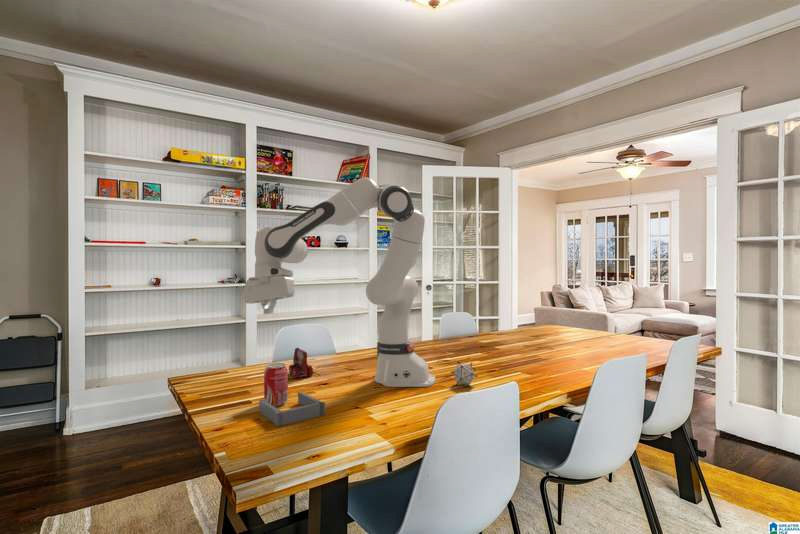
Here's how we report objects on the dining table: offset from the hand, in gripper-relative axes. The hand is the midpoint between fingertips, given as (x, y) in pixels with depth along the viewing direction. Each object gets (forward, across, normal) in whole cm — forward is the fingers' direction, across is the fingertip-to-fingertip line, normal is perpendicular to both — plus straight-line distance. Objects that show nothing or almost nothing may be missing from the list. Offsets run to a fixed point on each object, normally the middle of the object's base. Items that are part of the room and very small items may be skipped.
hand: (268, 313), depth 148 cm
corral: (+31, +17, -9) cm, 37 cm away
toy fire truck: (+22, -7, +25) cm, 34 cm away
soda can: (+29, +7, -5) cm, 31 cm away
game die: (+29, +53, +40) cm, 73 cm away
